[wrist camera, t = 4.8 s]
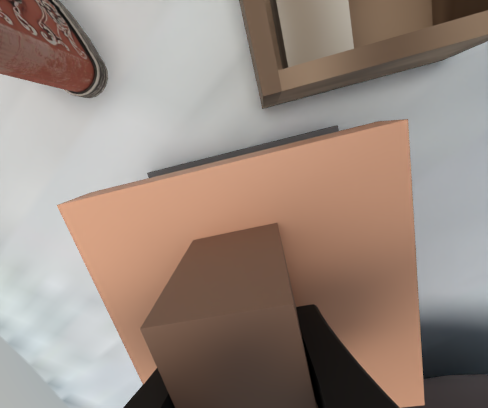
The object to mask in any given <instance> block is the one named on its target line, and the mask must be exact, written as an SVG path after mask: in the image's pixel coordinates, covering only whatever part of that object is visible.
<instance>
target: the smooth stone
mask: <svg viewBox="0 0 488 408" xmlns="http://www.w3.org/2000/svg"><path fill="white" fill-rule="evenodd" d="M423 384H424V401H425V405H422V406H412V407H402V408H488V375H486V374H477V375H446V376H440V377H434V378H428V379H423Z"/></svg>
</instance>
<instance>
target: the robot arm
mask: <svg viewBox="0 0 488 408" xmlns="http://www.w3.org/2000/svg"><path fill="white" fill-rule="evenodd" d="M296 310H297V316H298V321H299V326H300V330H301V335H302V339H303V344H304V348H305V353H306V357H307V361H308V366H309V370H310V375H311V379H312V384H313V388H314V393H315V397H316V401H317V405H318V408H400V407H399V406H398V405H397V404H396V403H395V402H394V401H393V400H392V399H391V398H390V397H389V396H388V395H387V394H386V393H385V392H384V391H383V390H382V389H381V387H380V386H379V385H378V384H377V383H376V382H375V381H374V380H373V379H372V378H371V376H370V375H369V374H368V373H367V372H366V371H365V370H364V369H363V367H362V366H361V365H360V364H359V363H358V362H357V360H356V359H355V358H354V357H353V356H352V354H351V353H350V352H349V351H348V350H347V348H346V347H345V346H344V345H343V343H342V342H341V341H340V340H339V338H338V337H337V336H336V334H335V333H334V332H333V330H332V329H331V327H330V326H329V325H328V323H327V322H326V320H325V319H324V317H323V316H322V314H321V312H320V311H319V309H318V307H317V306H316V305H314V304H311V305H305V306H299V307H296ZM124 408H175V406H174V404H173V402H172V400H171V397H170V395H169V393H168V391H167V388H166V386H165V384H164V382H163V379H162V377H161V375H160V373H159V371H158V368H156V370H155V371H154V372H153V373H152V375H151V376H150V377H149V378H148V380H147V381H146V382H145V383H144V384H143V385H142V387H141V388H140V389H139V390H138V391H137V392H136V394H135V395H134V396H133V397H132V398H131V399H130V401H129V402H128V403H127V404H126V405H125V406H124Z"/></svg>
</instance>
